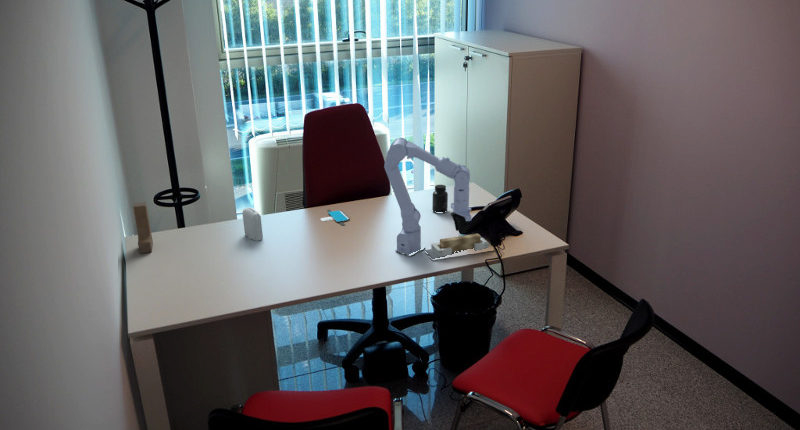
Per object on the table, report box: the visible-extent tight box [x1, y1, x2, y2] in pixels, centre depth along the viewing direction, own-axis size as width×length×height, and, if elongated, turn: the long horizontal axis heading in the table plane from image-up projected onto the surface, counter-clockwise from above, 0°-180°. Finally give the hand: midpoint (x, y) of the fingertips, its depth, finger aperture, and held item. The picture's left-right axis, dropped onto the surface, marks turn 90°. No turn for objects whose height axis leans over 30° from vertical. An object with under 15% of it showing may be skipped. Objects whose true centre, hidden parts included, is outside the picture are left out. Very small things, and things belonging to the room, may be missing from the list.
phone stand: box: [320, 209, 351, 226], centre depth 281 cm, size 20×12×2 cm, turn 25°
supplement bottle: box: [431, 184, 449, 212], centre depth 286 cm, size 7×7×12 cm
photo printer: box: [242, 207, 264, 242], centre depth 261 cm, size 10×4×12 cm, turn 39°
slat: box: [439, 233, 482, 252], centre depth 247 cm, size 16×2×5 cm, turn 109°
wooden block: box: [132, 201, 154, 254], centre depth 250 cm, size 9×4×18 cm, turn 16°
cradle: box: [424, 236, 490, 259], centre depth 247 cm, size 26×8×4 cm, turn 109°
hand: (460, 231), depth 245 cm, fingers open, 2 cm apart
